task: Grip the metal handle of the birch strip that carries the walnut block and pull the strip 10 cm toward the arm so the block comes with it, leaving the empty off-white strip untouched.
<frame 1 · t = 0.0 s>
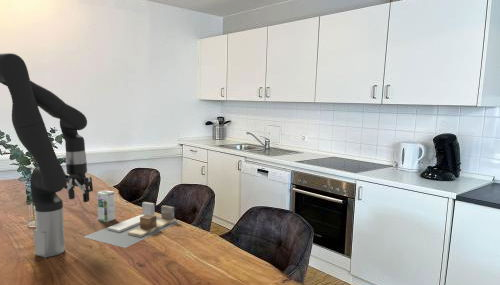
hand: (79, 200, 152), 17 cm above the table, tool pointing down, fingers open, 8 cm apart
off-white strip: (132, 215, 173), point 4 cm above the table, slide at 0.0 cm
walnut block: (148, 227, 166), point 2 cm above the table, touching birch strip
syrup box: (106, 221, 179), on the table
lane board: (135, 230, 167), on the table
birch strip: (152, 219, 168), point 4 cm above the table, slide at 0.0 cm, touching walnut block
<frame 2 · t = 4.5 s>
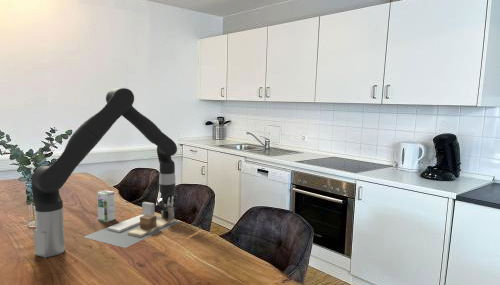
hand: (167, 217, 177), 3 cm above the table, tool pointing down, fingers closed on birch strip, 2 cm apart
birch strip: (152, 219, 168), point 4 cm above the table, slide at 0.0 cm, touching gripper, walnut block
everything else where it was.
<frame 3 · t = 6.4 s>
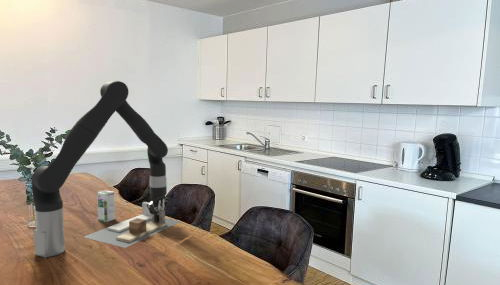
hand: (158, 221, 172), 3 cm above the table, tool pointing down, fingers closed on birch strip, 2 cm apart
walnut block: (137, 231, 160), point 2 cm above the table, touching birch strip
birch strip: (142, 224, 162), point 4 cm above the table, slide at 6.6 cm, touching gripper, walnut block
everything else where it was.
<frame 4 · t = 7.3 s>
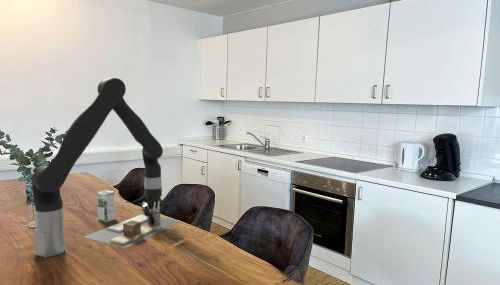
hand: (153, 223, 169), 3 cm above the table, tool pointing down, fingers closed on birch strip, 2 cm apart
walnut block: (132, 234, 157), point 2 cm above the table, touching birch strip
birch strip: (137, 226, 159), point 4 cm above the table, slide at 9.9 cm, touching gripper, walnut block
everything else where it was.
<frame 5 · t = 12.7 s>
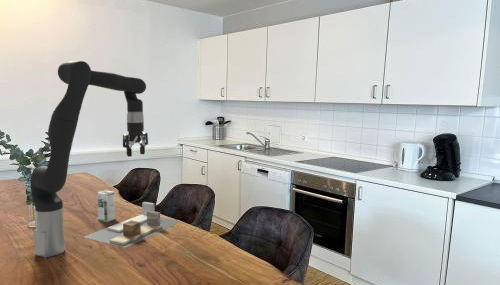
hand: (136, 155, 177), 32 cm above the table, tool pointing down, fingers open, 8 cm apart
birch strip: (137, 226, 159), point 4 cm above the table, slide at 10.0 cm, touching walnut block
everything else where it was.
at the end: birch strip slide at 10.0 cm; walnut block inside the target area (0.5 cm from its centre), point 1.9 cm above the table; off-white strip slide at 0.0 cm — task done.
